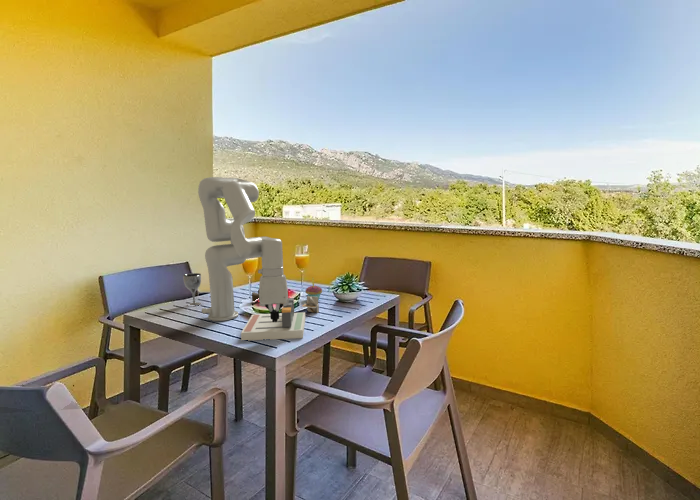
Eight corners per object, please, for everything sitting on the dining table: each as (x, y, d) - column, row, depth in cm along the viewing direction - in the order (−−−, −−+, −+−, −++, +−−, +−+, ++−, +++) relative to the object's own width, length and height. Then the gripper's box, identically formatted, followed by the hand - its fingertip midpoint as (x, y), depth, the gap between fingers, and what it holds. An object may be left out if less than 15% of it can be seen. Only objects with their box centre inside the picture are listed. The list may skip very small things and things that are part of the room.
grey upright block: (282, 327, 137) (281, 310, 136) (283, 324, 140) (282, 307, 139) (291, 327, 137) (290, 310, 136) (291, 324, 140) (291, 307, 140)
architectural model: (315, 315, 164) (315, 298, 163) (301, 314, 166) (301, 297, 165) (319, 313, 167) (318, 297, 166) (305, 311, 170) (304, 295, 169)
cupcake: (321, 301, 185) (320, 278, 183) (304, 301, 185) (303, 278, 183) (323, 297, 193) (322, 274, 192) (306, 297, 193) (306, 274, 192)
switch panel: (241, 340, 134) (239, 313, 133) (252, 321, 156) (251, 298, 154) (302, 338, 135) (301, 311, 134) (305, 319, 157) (304, 296, 156)
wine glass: (206, 303, 185) (204, 274, 183) (192, 307, 178) (189, 276, 176) (196, 301, 189) (194, 272, 187) (182, 305, 183) (179, 275, 181)
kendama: (272, 296, 200) (272, 304, 181) (254, 297, 198) (251, 306, 179) (271, 285, 200) (271, 292, 180) (253, 286, 198) (250, 294, 178)
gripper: (250, 275, 131) (252, 325, 134) (292, 273, 132) (294, 323, 135) (253, 271, 139) (256, 318, 141) (294, 269, 140) (296, 317, 142)
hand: (275, 320), depth 138 cm, fingers closed
